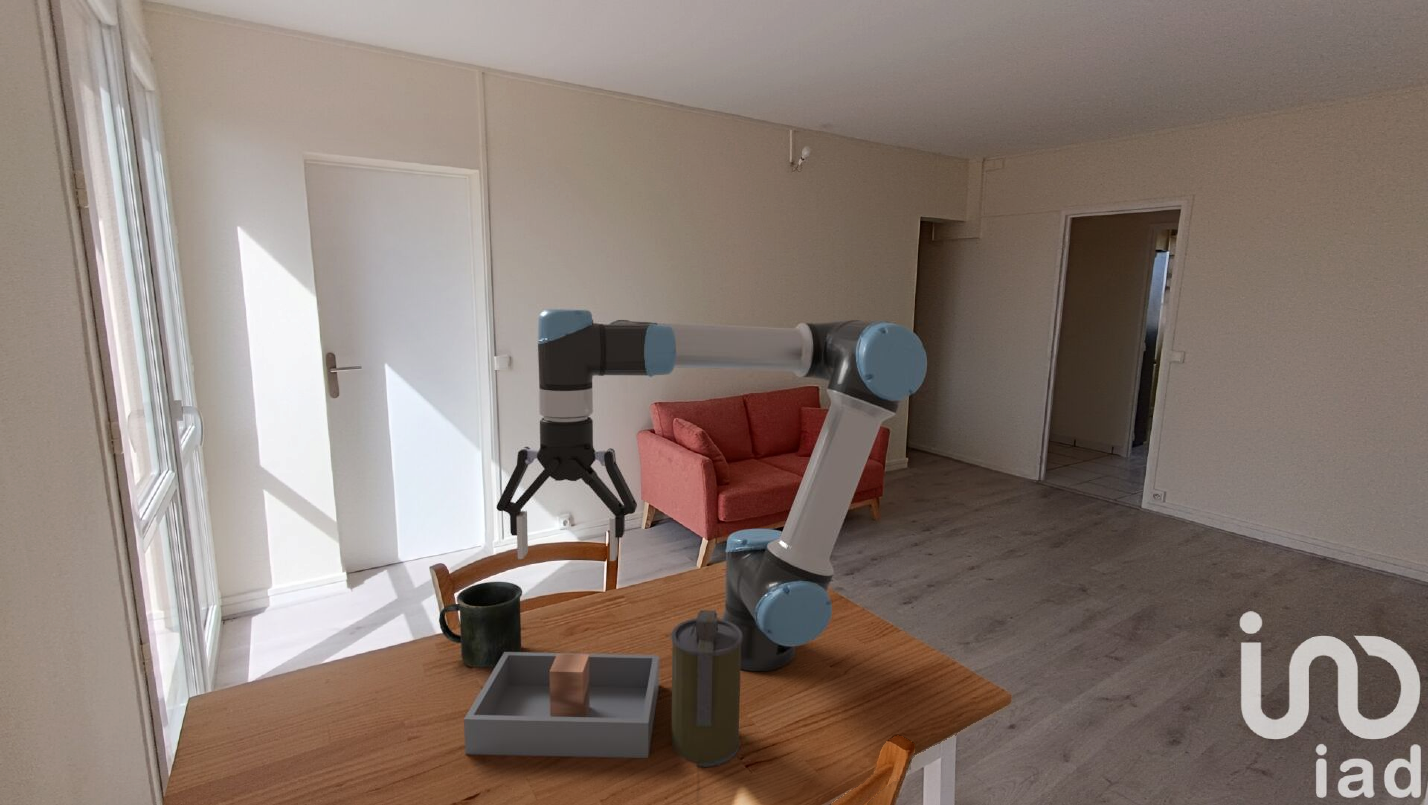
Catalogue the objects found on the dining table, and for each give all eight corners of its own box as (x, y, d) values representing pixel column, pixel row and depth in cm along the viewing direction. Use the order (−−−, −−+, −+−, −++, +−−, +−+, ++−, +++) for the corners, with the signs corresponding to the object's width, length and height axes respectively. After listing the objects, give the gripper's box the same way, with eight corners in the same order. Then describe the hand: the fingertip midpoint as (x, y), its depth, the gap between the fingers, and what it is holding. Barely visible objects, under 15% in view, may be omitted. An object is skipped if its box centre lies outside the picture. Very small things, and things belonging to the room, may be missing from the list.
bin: (658, 688, 112) (659, 655, 111) (647, 761, 94) (648, 723, 93) (505, 684, 112) (504, 651, 111) (465, 757, 94) (463, 719, 93)
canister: (673, 719, 103) (674, 599, 100) (739, 722, 103) (743, 601, 100) (665, 768, 93) (667, 635, 90) (740, 771, 92) (744, 638, 89)
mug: (517, 671, 116) (515, 606, 114) (431, 673, 115) (428, 608, 113) (528, 639, 127) (527, 580, 125) (450, 641, 125) (447, 582, 123)
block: (589, 706, 105) (589, 654, 104) (583, 727, 100) (582, 672, 99) (558, 706, 105) (557, 653, 104) (550, 726, 100) (549, 671, 99)
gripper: (654, 414, 99) (653, 548, 102) (489, 410, 99) (493, 545, 102) (650, 423, 92) (649, 568, 95) (470, 419, 92) (475, 564, 95)
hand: (568, 556), depth 99 cm, fingers open, 13 cm apart
